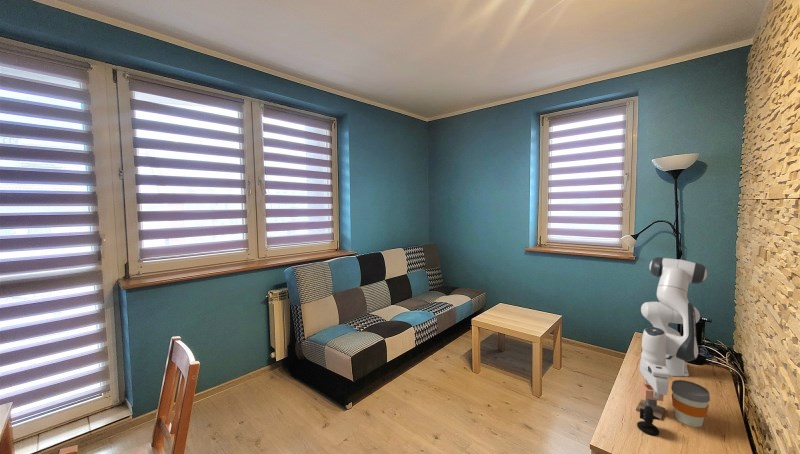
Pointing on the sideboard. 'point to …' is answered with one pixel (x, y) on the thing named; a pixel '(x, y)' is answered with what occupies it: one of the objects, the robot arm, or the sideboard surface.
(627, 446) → the sideboard surface
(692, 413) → the reusable coffee cup
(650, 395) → the pink square socket block
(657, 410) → the base
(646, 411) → the webcam
